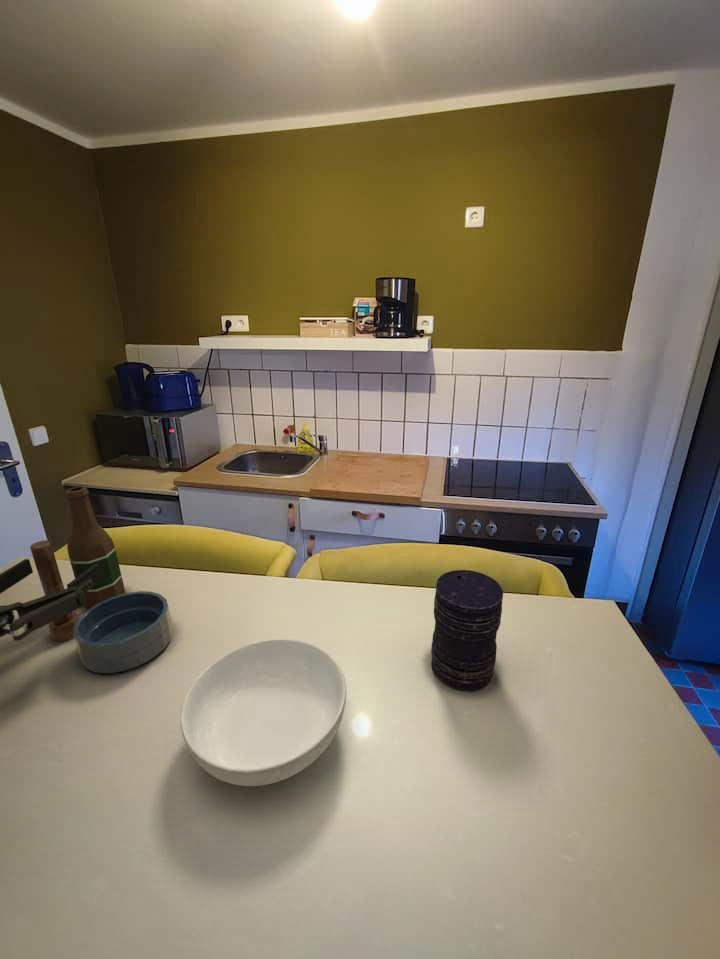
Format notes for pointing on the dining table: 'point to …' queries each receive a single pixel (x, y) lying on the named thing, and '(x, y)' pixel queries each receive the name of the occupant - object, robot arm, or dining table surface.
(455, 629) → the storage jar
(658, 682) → the dining table surface
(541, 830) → the dining table surface
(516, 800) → the dining table surface
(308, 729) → the serving bowl
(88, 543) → the beer bottle
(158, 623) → the blue round dish
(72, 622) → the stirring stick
